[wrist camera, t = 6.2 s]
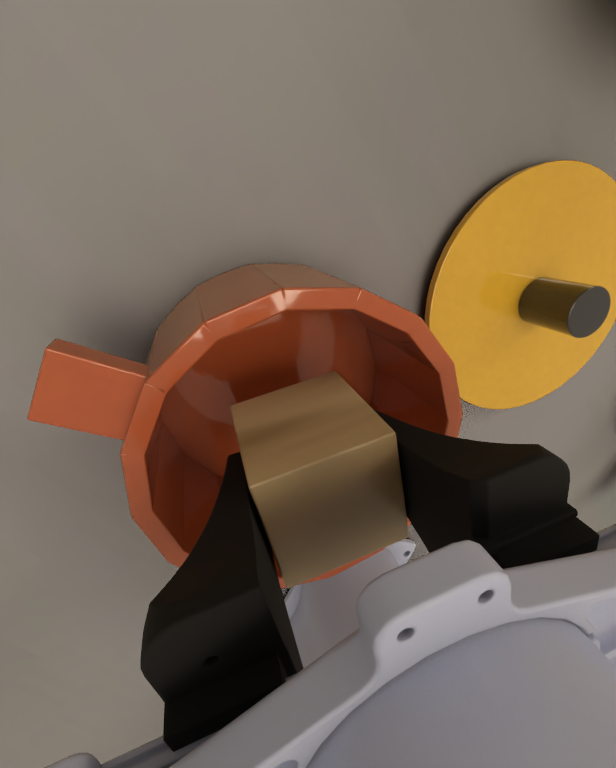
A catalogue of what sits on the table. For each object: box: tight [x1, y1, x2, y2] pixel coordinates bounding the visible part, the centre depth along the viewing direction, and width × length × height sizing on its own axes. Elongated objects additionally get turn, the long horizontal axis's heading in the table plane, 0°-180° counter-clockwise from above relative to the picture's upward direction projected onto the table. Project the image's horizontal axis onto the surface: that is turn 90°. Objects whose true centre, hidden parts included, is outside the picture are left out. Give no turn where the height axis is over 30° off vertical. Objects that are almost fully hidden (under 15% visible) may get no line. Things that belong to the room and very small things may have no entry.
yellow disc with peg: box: [425, 160, 616, 409], centre depth 21 cm, size 14×14×4 cm
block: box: [230, 371, 409, 588], centre depth 14 cm, size 4×4×5 cm
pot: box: [27, 263, 463, 589], centre depth 17 cm, size 13×18×7 cm
